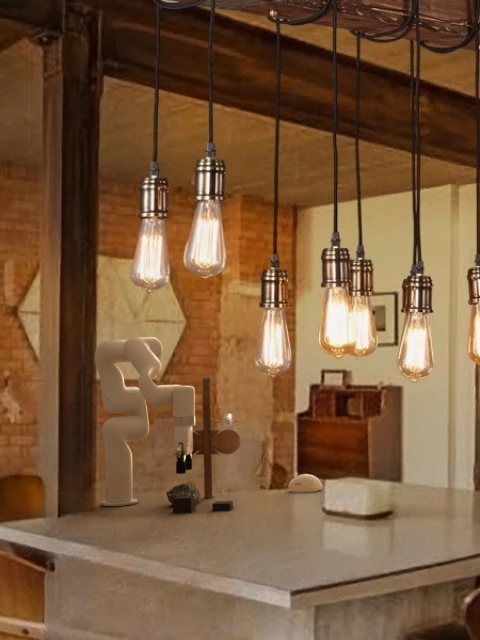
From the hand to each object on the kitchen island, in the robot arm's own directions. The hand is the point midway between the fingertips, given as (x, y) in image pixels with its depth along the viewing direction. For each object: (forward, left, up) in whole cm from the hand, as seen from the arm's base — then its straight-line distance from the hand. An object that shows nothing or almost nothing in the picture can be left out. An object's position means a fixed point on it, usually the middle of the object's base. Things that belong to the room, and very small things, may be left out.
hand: (184, 471), depth 375 cm
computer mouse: (-43, +37, -14) cm, 59 cm away
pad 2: (-2, +13, -14) cm, 19 cm away
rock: (-19, -4, -14) cm, 24 cm away
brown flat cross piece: (-32, +2, -14) cm, 35 cm away
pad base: (0, 0, -14) cm, 14 cm away
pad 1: (0, 0, -11) cm, 11 cm away
